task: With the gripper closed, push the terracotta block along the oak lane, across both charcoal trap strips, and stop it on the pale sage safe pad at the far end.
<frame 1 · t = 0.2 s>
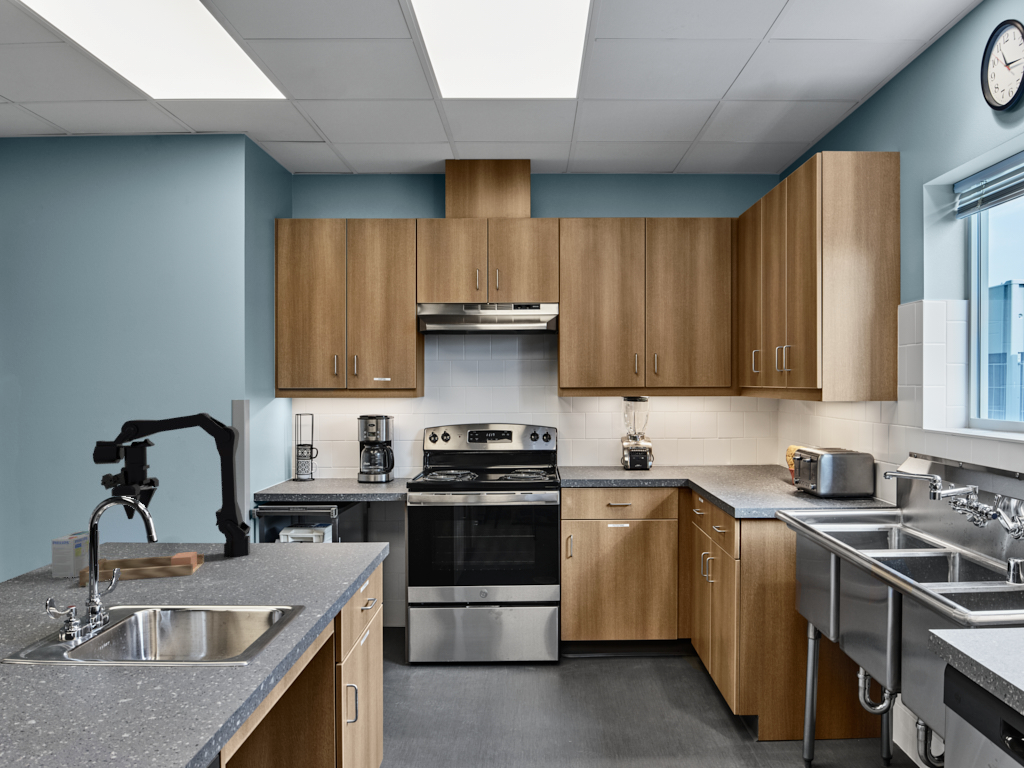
hand: (136, 516, 188), 14 cm above the table, tool pointing down, fingers open, 9 cm apart
light bulb box: (76, 573, 181), on the table
terracotta block: (184, 569, 178), point 1 cm above the table, touching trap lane
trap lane: (145, 575, 176), on the table
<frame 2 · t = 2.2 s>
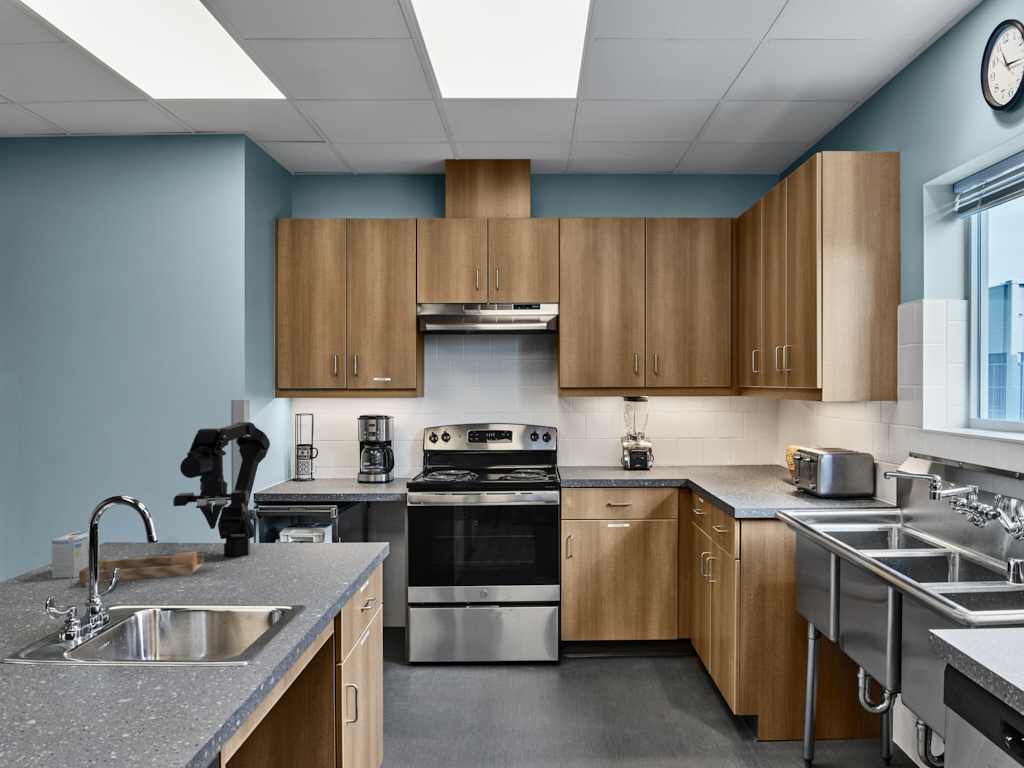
hand: (212, 528, 180), 12 cm above the table, tool pointing down, fingers closed
nothing on the table moved.
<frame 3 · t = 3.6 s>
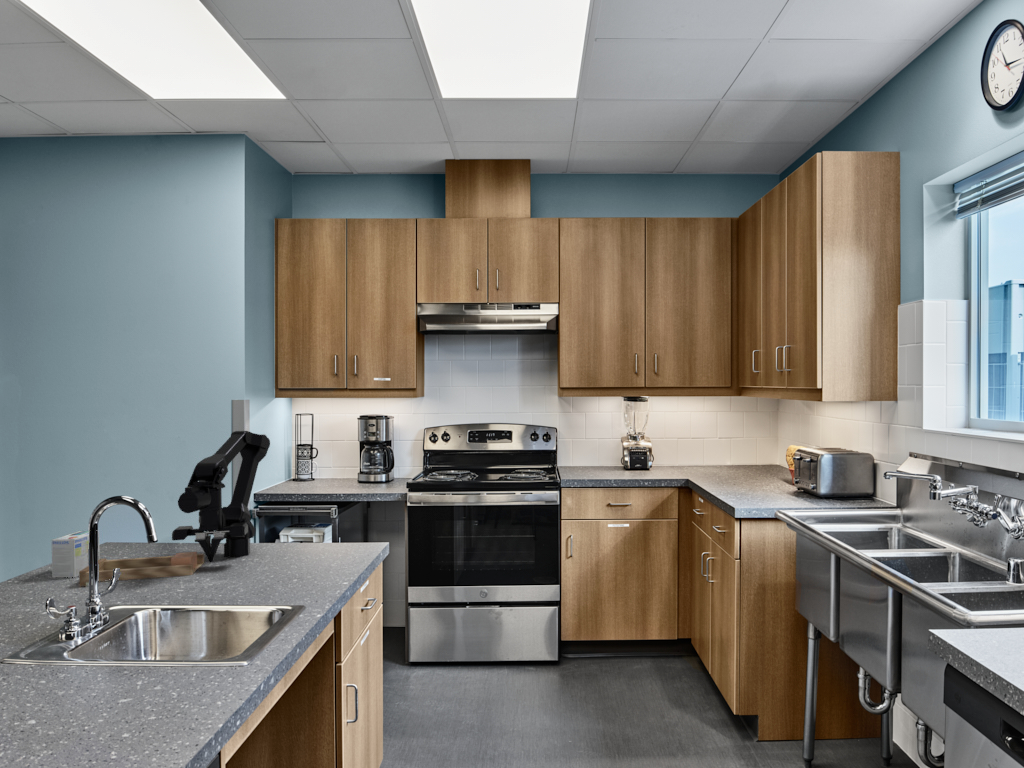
hand: (211, 562, 180), 3 cm above the table, tool pointing down, fingers closed
nothing on the table moved.
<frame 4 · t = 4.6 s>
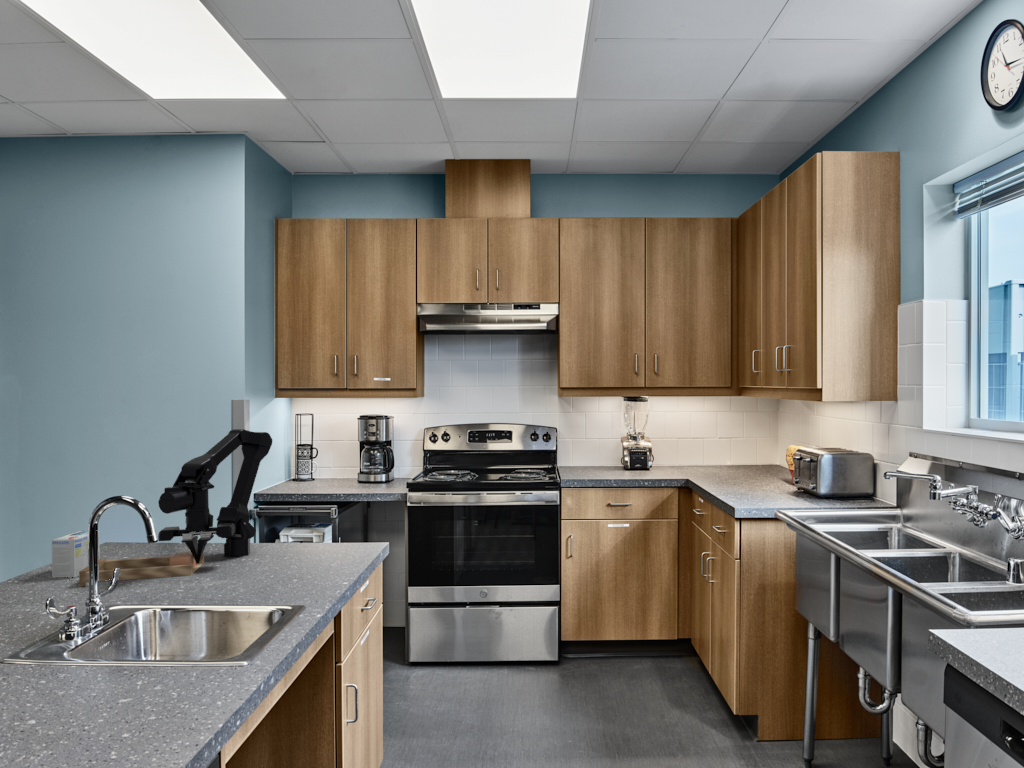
hand: (198, 562, 179), 3 cm above the table, tool pointing down, fingers closed
terracotta block: (182, 569, 178), point 1 cm above the table, touching gripper
everything else where it was.
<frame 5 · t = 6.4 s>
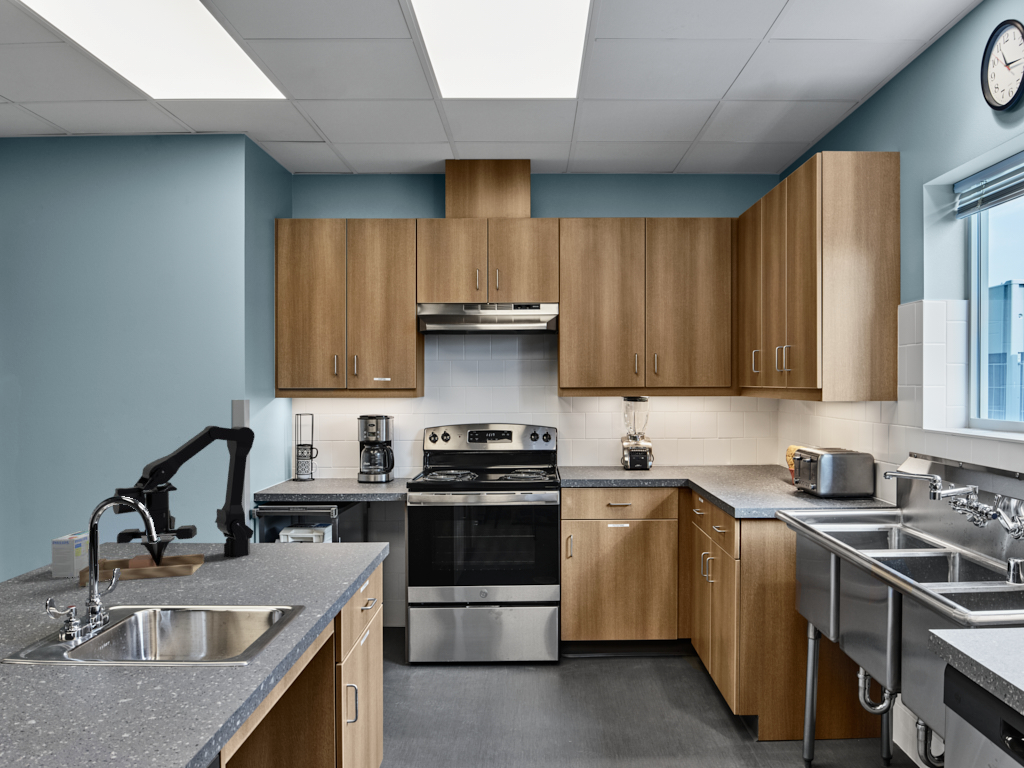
hand: (158, 565, 177), 3 cm above the table, tool pointing down, fingers closed
terracotta block: (143, 572, 176), point 1 cm above the table, touching gripper, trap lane
everything else where it was.
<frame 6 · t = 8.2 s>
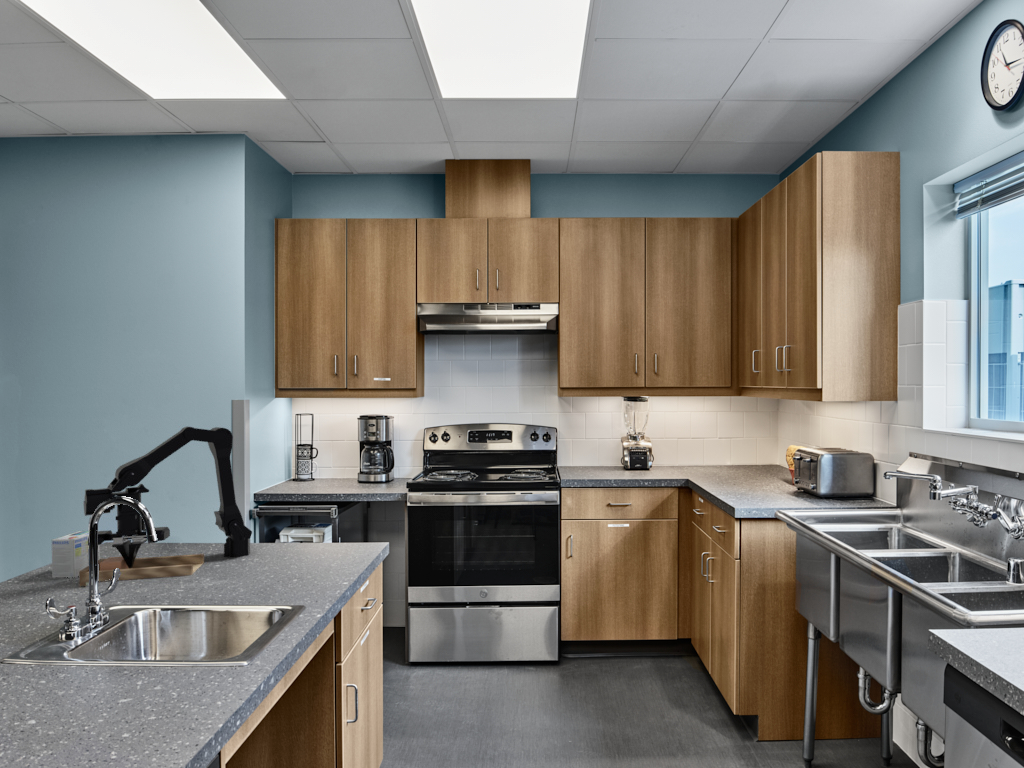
hand: (130, 567, 176), 3 cm above the table, tool pointing down, fingers closed
terracotta block: (114, 574, 175), point 1 cm above the table, touching gripper, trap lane
everything else where it was.
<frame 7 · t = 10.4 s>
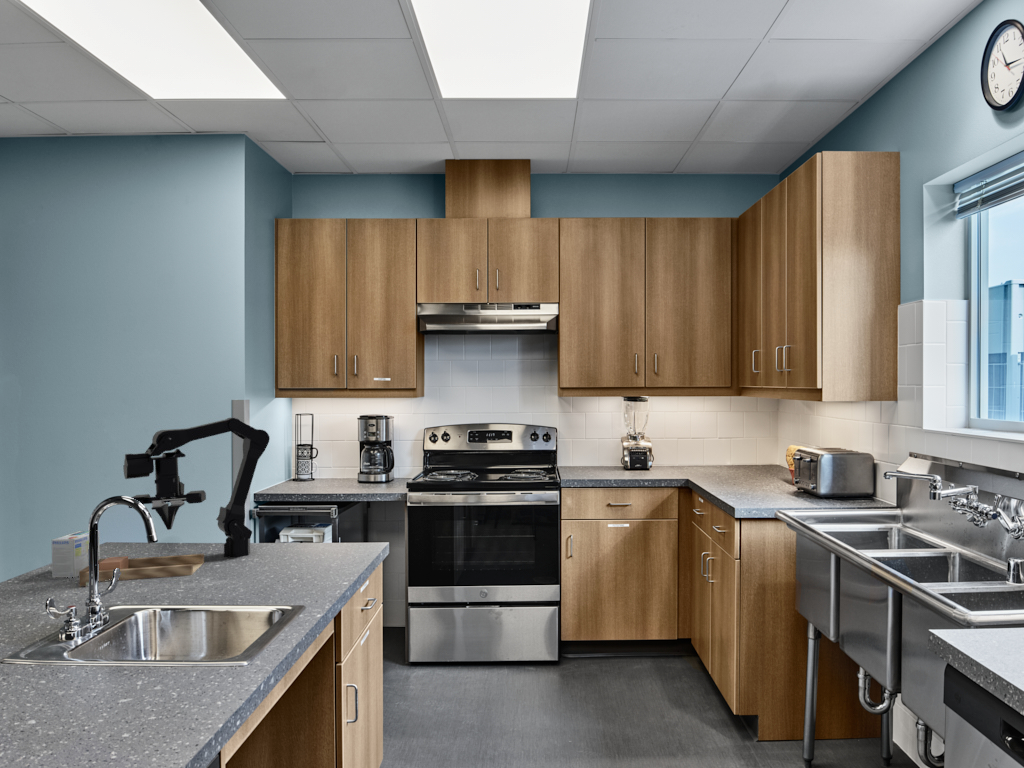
hand: (169, 529, 182), 12 cm above the table, tool pointing down, fingers closed
terracotta block: (114, 574, 175), point 1 cm above the table, touching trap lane
everything else where it was.
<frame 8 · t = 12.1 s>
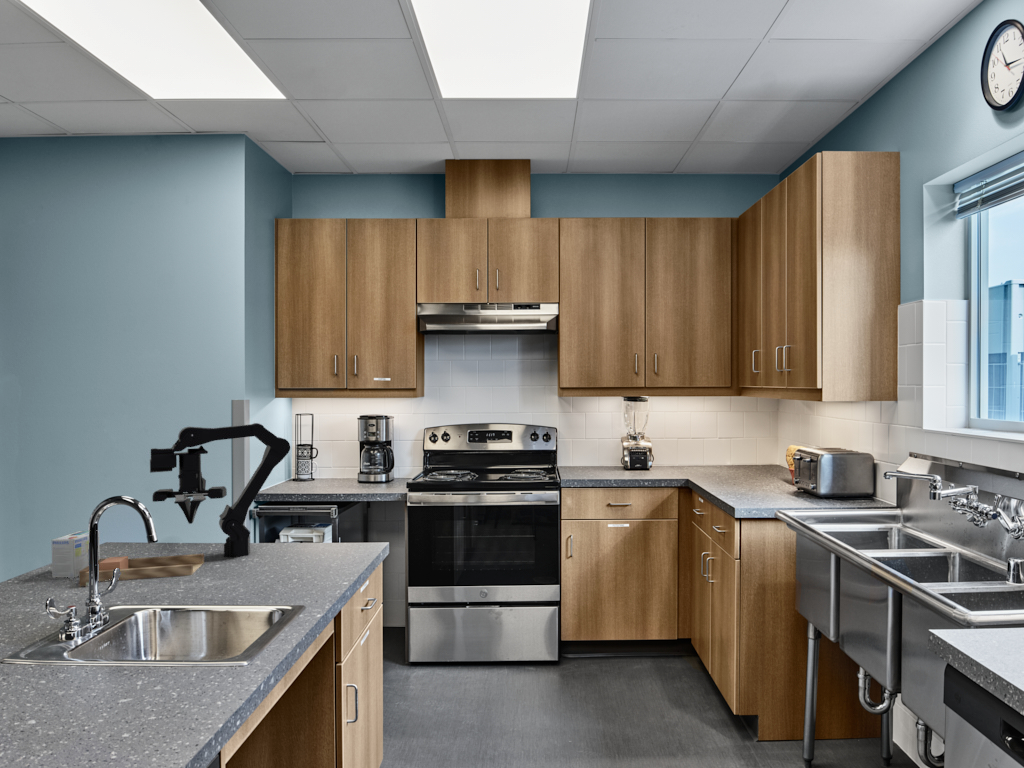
hand: (190, 523, 187), 12 cm above the table, tool pointing down, fingers closed
nothing on the table moved.
at the end: terracotta block 0.1 cm from the target spot on the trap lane, point 1.0 cm above the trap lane's base; terracotta block tilted 0°; terracotta block moved 17.7 cm from its start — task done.
